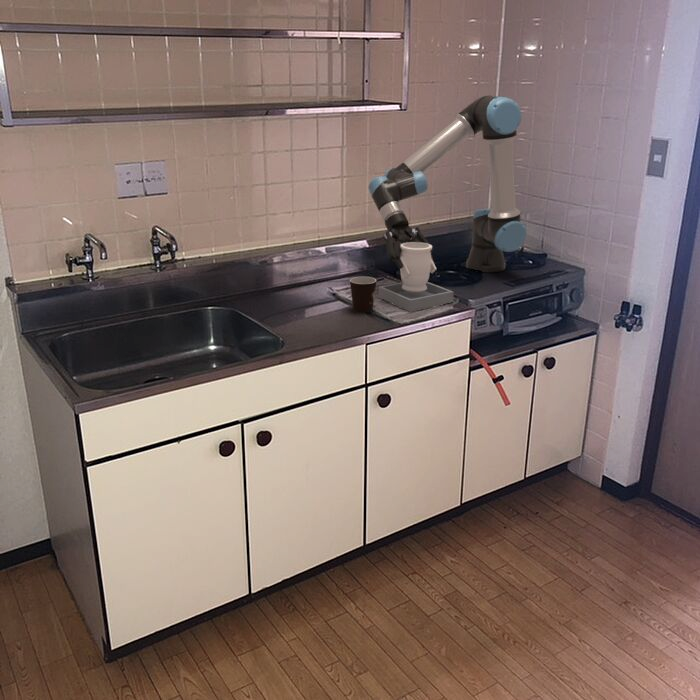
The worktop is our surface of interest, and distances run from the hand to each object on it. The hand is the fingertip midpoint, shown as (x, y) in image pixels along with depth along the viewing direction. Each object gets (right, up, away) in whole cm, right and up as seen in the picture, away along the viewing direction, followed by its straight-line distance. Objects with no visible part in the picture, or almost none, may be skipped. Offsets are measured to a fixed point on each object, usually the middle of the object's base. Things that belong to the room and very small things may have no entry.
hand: (420, 273), depth 254 cm
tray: (-1, -9, +6) cm, 11 cm away
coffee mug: (-18, -12, -2) cm, 22 cm away
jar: (-2, -5, +5) cm, 7 cm away
